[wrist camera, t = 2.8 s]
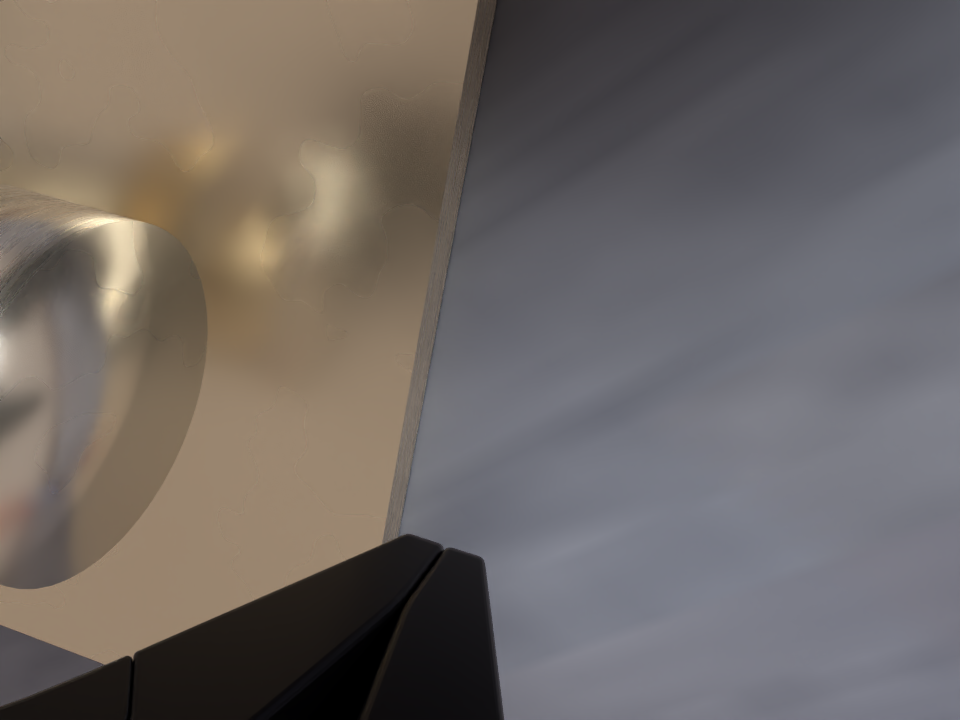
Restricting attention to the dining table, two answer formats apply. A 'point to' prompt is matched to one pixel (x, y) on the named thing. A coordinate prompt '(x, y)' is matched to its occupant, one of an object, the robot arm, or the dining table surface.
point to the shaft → (88, 378)
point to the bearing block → (257, 267)
